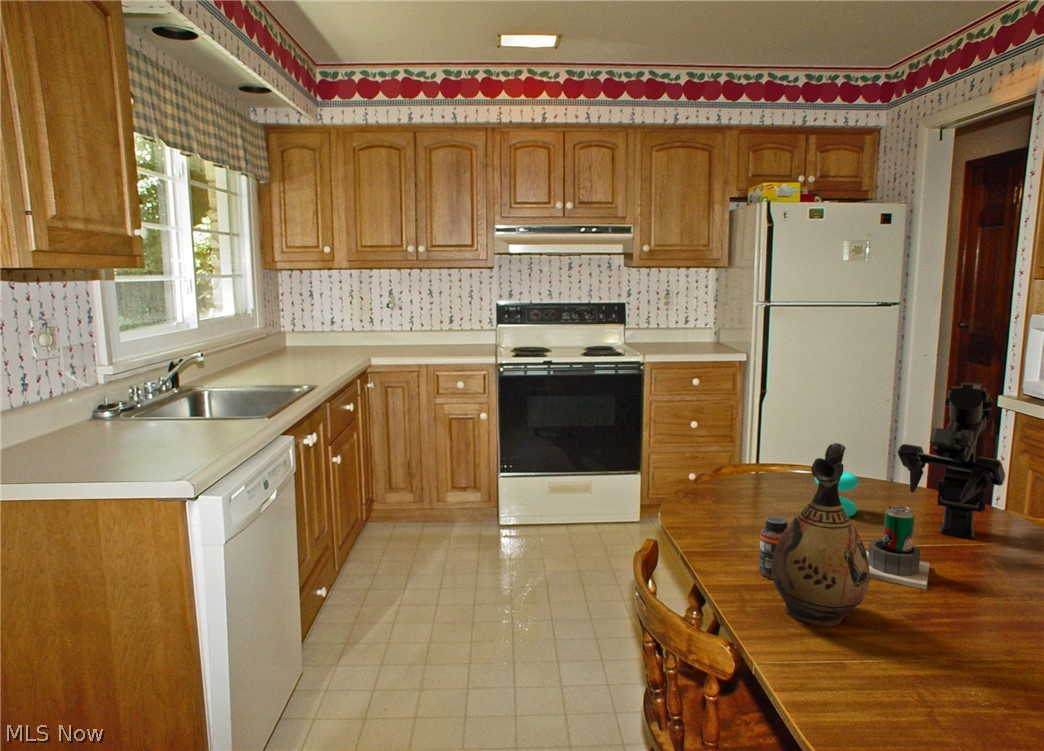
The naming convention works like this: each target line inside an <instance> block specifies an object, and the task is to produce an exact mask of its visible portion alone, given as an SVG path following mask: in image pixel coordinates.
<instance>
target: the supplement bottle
mask: <svg viewBox="0 0 1044 751" xmlns="http://www.w3.org/2000/svg"><path fill="white" fill-rule="evenodd" d="M787 527H788V520H787V519H786V518H784V517H782V516H767V517H766V518H765V526H764V527H763V528H761V530H760V536H759V538H760V539H759V564H758V565H759V566H758V571H759V573H760V574H761V575H762V576H763V577H765V578H769V579H772V580H774V579H773V577H772V567H771V566H772V559H773V555H774V552H775V549H776V546H777V543H778V541H779V539H780V537H781V535H782V534H783V532H784V530H785V529H786V528H787Z"/></svg>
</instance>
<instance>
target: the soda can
mask: <svg viewBox="0 0 1044 751" xmlns="http://www.w3.org/2000/svg"><path fill="white" fill-rule="evenodd" d="M883 524H884V525H883V534H882V535H883V537H882V539H883V548H882V550H884V551H886V552H890V553H896V554H911V553H912V545H913V542H914V541H913V539H914V526H915V515H914V513H913V509H911V508H910V507H906V506H902V505H888V506H887V509H886V510H885V512H884V522H883Z"/></svg>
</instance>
